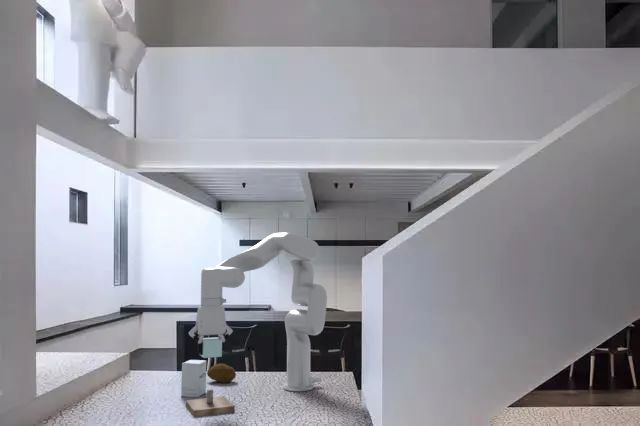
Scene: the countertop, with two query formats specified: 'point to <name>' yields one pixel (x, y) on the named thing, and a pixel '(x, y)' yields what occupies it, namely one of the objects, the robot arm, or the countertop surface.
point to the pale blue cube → (212, 347)
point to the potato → (221, 373)
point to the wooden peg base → (209, 405)
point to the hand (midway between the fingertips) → (210, 353)
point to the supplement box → (193, 378)
